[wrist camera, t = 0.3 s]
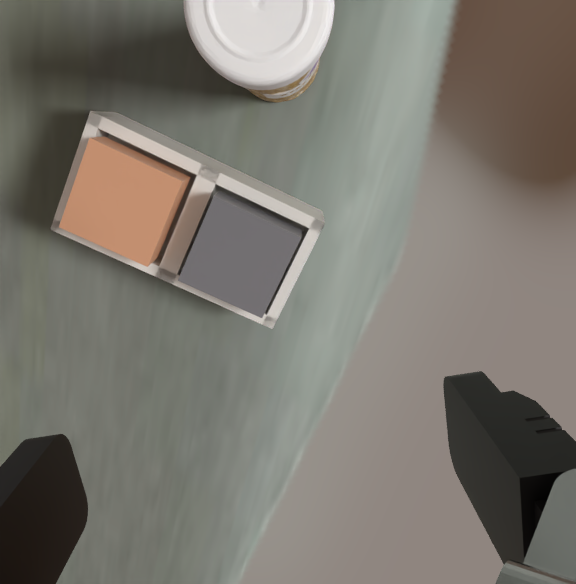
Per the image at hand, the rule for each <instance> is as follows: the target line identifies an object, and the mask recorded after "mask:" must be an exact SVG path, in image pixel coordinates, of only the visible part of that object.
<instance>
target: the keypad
mask: <svg viewBox="0 0 576 584" xmlns="http://www.w3.org/2000/svg"><path fill="white" fill-rule="evenodd" d="M92 137H107V138H109V139H111V140H113V141H115V142H117V143H119V144H121V145H124V146H126V147H128V148H130V149H132V150H134V151H136V152H138V153H140V154H143V155H145V156H147V157H149V158H151V159H153V160H155V161H157V162H160V163H162V164H164V165H166V166H168V167H170V168H172V169H174V170H176V171H179V172H181V173H183V174H185V175H187V176H189V177H191V178H190V180H189V182H188V185H187V187H186V190H185V192H184V195H183V197H182V200H181V202H180V204H179V207H178V209H177V212H176V214H175V217H174V219H173V222H172V224H171V226H170V229H169V231H168V234H167V236H166V239H165V241H164V244H163V246H162V248H161V251H160V253H159V256H158V258H157V259H156V260H155V261H153V262H152V263H151V264H150V265H149V266H148V267H146V266H144V265H142V264H140V263H137V262H135V261H133V260H131V259H129V258H126V257H124V256H122V255H120V254H117V253H115V252H113V251H111V250H109V249H106V248H104V247H102V246H100V245H97V244H95V243H93V242H91V241H88V240H86V239H84V238H82V237H80V236H77V235H75V234H73V233H71V232H68V231H66V230H64V229H62V228H59V225H60V222H61V219H62V216H63V214H64V211H65V208H66V205H67V202H68V199H69V196H70V193H71V190H72V187H73V184H74V182H75V179H76V176H77V173H78V170H79V167H80V164H81V161H82V158H83V155H84V152H85V149H86V147H87V144H88V141H89V138H92ZM219 191H221V192H223V193H225V194H227V195H229V196H231V197H234V198H236V199H238V200H240V201H242V202H244V203H246V204H248V205H250V206H253V207H255V208H257V209H259V210H261V211H263V212H265V213H267V214H269V215H272V216H274V217H276V218H278V219H280V220H282V221H284V222H286V223H289V224H291V225H293V226H295V227H297V228H299V229H301V230H302V238H301V240H300V242H299V244H298V246H297V248H296V250H295V252H294V254H293V256H292V258H291V260H290V262H289V264H288V266H287V268H286V270H285V272H284V275H283V277H282V279H281V281H280V283H279V285H278V287H277V289H276V291H275V293H274V295H273V297H272V299H271V301H270V303H269V305H268V307H267V309H266V311H265V313H264V315H263V317H262V318H260V317H258V316H256V315H253V314H251V313H249V312H247V311H244V310H242V309H240V308H238V307H236V306H233V305H231V304H229V303H227V302H224V301H222V300H220V299H218V298H215V297H213V296H211V295H209V294H207V293H204V292H202V291H200V290H198V289H195V288H193V287H191V286H189V285H187V284H184V283H182V282H180V281H178V279H179V276H180V274H181V272H182V269H183V267H184V265H185V262H186V260H187V258H188V255H189V253H190V251H191V248H192V246H193V244H194V241H195V239H196V236H197V234H198V232H199V229H200V227H201V225H202V222H203V220H204V218H205V215H206V213H207V211H208V208H209V206H210V204H211V201H212V199H213V197H214V195H216V194H217V193H218V192H219ZM324 224H325V220H324V216H323V212H322V210H320V209H318V208H315V207H313V206H311V205H309V204H307V203H305V202H303V201H301V200H299V199H297V198H295V197H293V196H290V195H288V194H286V193H284V192H282V191H280V190H278V189H276V188H274V187H272V186H270V185H268V184H265V183H263V182H261V181H259V180H257V179H255V178H253V177H251V176H249V175H247V174H245V173H242V172H240V171H238V170H236V169H234V168H232V167H230V166H228V165H226V164H224V163H222V162H220V161H217V160H215V159H213V158H211V157H209V156H207V155H205V154H203V153H201V152H199V151H197V150H195V149H192V148H190V147H188V146H186V145H184V144H182V143H180V142H178V141H176V140H174V139H172V138H169V137H167V136H165V135H163V134H161V133H159V132H157V131H155V130H153V129H151V128H149V127H147V126H144V125H142V124H140V123H138V122H136V121H134V120H132V119H130V118H128V117H126V116H124V115H121V114H119V113H117V112H103V111H90V113H89V116H88V119H87V122H86V125H85V128H84V131H83V134H82V137H81V140H80V143H79V146H78V149H77V152H76V155H75V158H74V161H73V164H72V167H71V170H70V172H69V175H68V178H67V181H66V184H65V187H64V190H63V193H62V196H61V199H60V202H59V205H58V208H57V211H56V214H55V217H54V220H53V223H52V226H51V229H50V230H52V231H55V232H57V233H59V234H61V235H63V236H66V237H68V238H70V239H72V240H75V241H77V242H79V243H81V244H84V245H86V246H88V247H90V248H93V249H95V250H97V251H99V252H101V253H104V254H106V255H108V256H110V257H113V258H115V259H117V260H119V261H122V262H124V263H126V264H128V265H131V266H133V267H135V268H137V269H139V270H142V271H144V272H146V273H148V274H151V275H153V276H155V277H157V278H160V279H162V280H164V281H166V282H169V283H171V284H173V285H175V286H177V287H180V288H182V289H184V290H186V291H189V292H191V293H193V294H195V295H198V296H200V297H202V298H204V299H207V300H209V301H211V302H213V303H215V304H218V305H220V306H222V307H224V308H227V309H229V310H231V311H233V312H236V313H238V314H240V315H242V316H245V317H247V318H249V319H251V320H253V321H256V322H258V323H260V324H262V325H265V326H267V327H269V328H271V329H273V327H274V325H275V323H276V321H277V319H278V317H279V315H280V313H281V311H282V309H283V307H284V305H285V303H286V301H287V299H288V297H289V294H290V292H291V290H292V288H293V286H294V284H295V282H296V280H297V278H298V276H299V274H300V272H301V270H302V268H303V266H304V264H305V262H306V260H307V258H308V256H309V254H310V252H311V250H312V248H313V246H314V244H315V242H316V240H317V238H318V236H319V234H320V232H321V230H322V228H323V226H324Z"/></svg>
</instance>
